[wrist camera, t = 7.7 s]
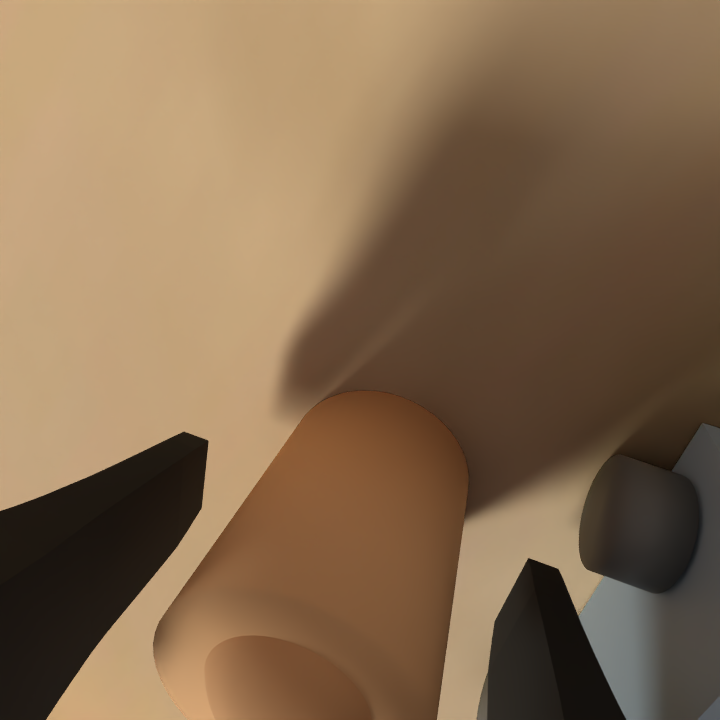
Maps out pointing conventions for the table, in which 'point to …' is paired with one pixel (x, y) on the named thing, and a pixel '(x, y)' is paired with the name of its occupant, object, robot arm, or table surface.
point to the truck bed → (655, 582)
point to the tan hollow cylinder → (328, 576)
